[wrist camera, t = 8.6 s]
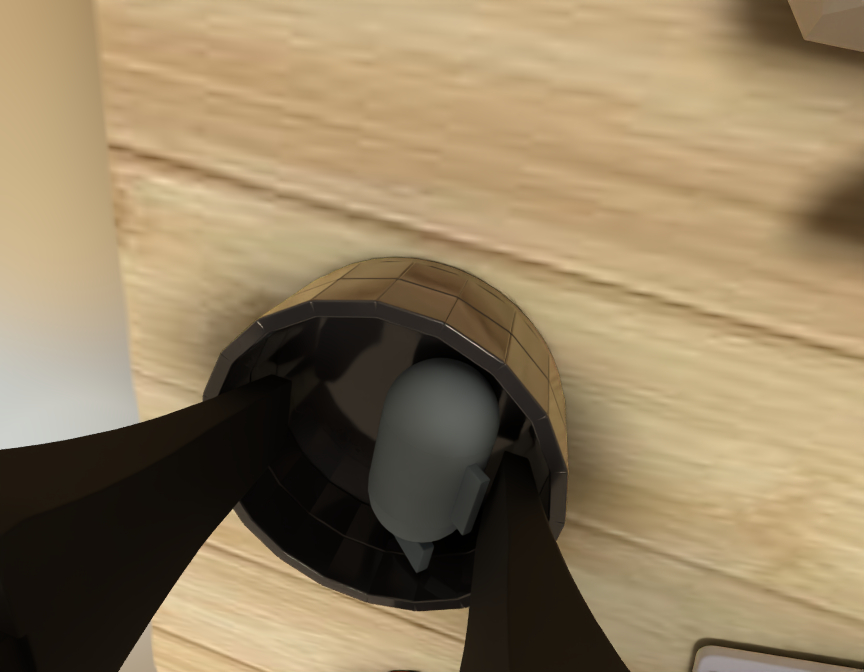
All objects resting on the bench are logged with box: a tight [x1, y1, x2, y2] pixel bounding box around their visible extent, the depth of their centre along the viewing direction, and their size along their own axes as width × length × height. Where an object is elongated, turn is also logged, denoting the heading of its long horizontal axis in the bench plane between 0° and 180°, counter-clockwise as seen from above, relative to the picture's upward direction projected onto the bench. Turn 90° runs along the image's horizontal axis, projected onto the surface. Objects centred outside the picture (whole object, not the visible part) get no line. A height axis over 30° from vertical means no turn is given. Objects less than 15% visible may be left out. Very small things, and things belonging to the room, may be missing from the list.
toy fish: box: [368, 358, 500, 573], centre depth 13 cm, size 6×3×4 cm
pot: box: [203, 257, 568, 611], centre depth 13 cm, size 9×9×4 cm
